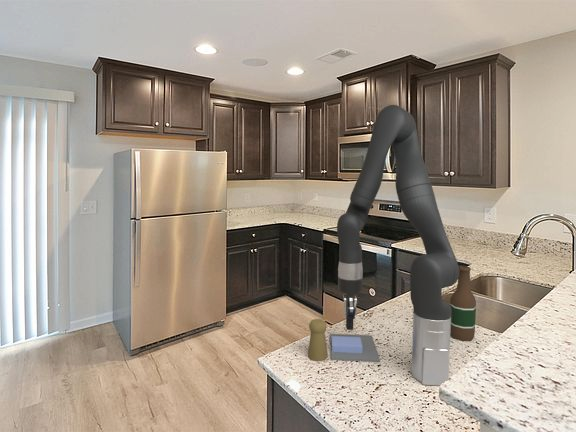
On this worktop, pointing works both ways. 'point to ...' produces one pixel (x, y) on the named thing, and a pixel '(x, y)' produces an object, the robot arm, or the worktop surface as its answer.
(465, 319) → the beer bottle
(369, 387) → the worktop surface
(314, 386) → the worktop surface
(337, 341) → the card deck
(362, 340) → the mat
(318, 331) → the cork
